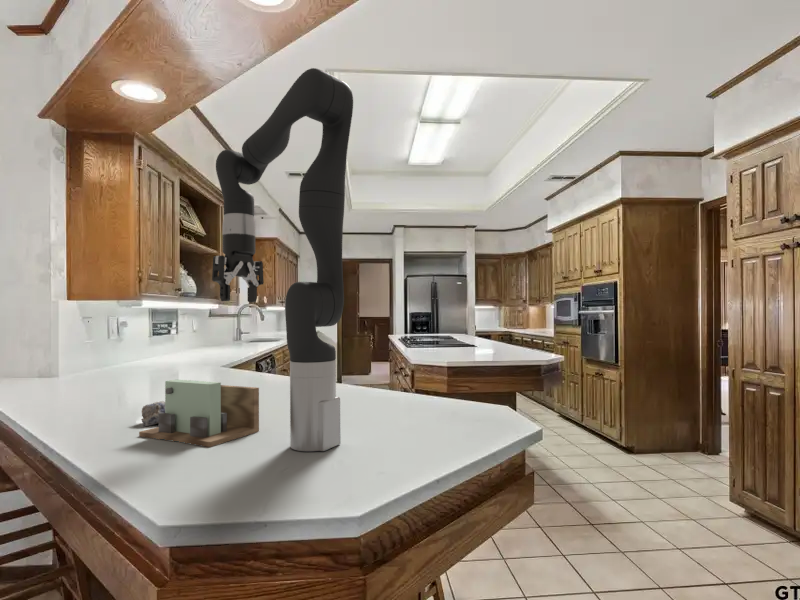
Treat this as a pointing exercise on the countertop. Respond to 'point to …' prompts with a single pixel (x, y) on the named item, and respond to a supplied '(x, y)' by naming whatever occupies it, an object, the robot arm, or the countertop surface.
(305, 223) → the robot arm
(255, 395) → the hinge base
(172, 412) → the cabinet door
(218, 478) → the countertop surface
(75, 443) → the countertop surface
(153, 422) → the mineral specimen
